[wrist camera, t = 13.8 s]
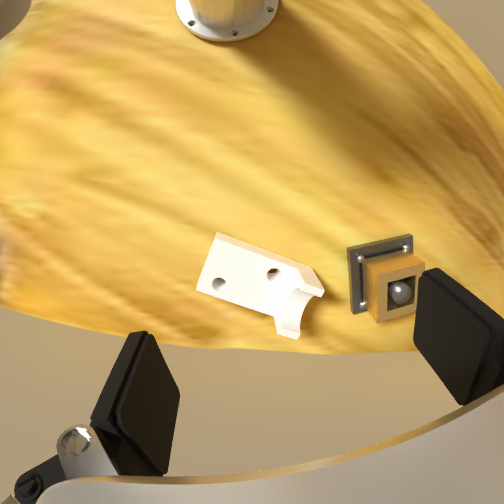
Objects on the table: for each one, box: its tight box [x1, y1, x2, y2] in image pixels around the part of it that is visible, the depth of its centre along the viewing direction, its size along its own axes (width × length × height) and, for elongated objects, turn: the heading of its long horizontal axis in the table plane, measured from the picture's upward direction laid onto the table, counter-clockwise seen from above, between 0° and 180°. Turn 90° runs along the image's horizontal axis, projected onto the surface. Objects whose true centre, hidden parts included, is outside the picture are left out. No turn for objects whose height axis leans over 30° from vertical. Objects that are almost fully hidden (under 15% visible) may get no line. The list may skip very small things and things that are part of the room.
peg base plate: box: [347, 234, 413, 314], centre depth 37 cm, size 10×10×7 cm
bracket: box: [196, 232, 325, 340], centre depth 36 cm, size 13×7×8 cm, turn 67°
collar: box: [362, 249, 425, 323], centre depth 37 cm, size 7×7×5 cm
